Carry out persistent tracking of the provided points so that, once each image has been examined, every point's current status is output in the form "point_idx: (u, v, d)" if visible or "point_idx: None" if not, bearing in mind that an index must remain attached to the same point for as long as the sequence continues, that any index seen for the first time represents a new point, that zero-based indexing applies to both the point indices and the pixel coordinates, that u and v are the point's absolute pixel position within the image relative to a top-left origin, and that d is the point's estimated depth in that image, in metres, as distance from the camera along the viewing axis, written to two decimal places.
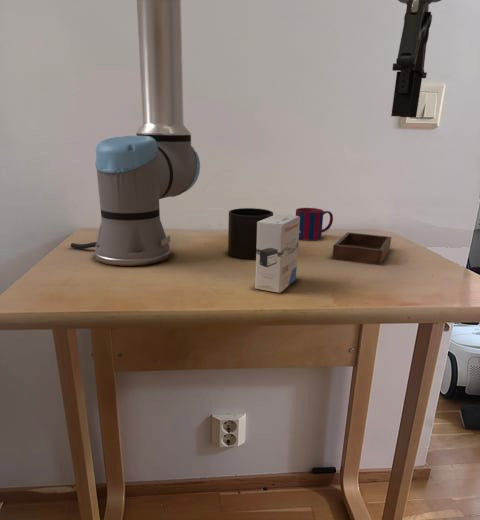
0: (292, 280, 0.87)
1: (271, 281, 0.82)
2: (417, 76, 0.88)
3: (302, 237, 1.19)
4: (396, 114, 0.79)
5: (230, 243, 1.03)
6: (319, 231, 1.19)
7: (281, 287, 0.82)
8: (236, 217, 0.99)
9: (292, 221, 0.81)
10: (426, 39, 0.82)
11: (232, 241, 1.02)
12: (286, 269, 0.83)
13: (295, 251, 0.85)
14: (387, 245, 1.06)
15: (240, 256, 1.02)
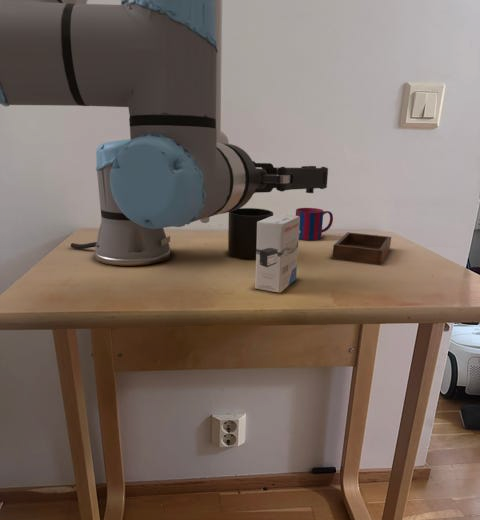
0: (292, 280, 0.87)
1: (271, 281, 0.82)
2: None
3: (302, 237, 1.19)
4: None
5: (230, 243, 1.03)
6: (319, 231, 1.19)
7: (281, 287, 0.82)
8: (236, 217, 0.99)
9: (292, 221, 0.81)
10: None
11: (232, 241, 1.02)
12: (286, 269, 0.83)
13: (295, 251, 0.85)
14: (387, 245, 1.06)
15: (240, 256, 1.02)
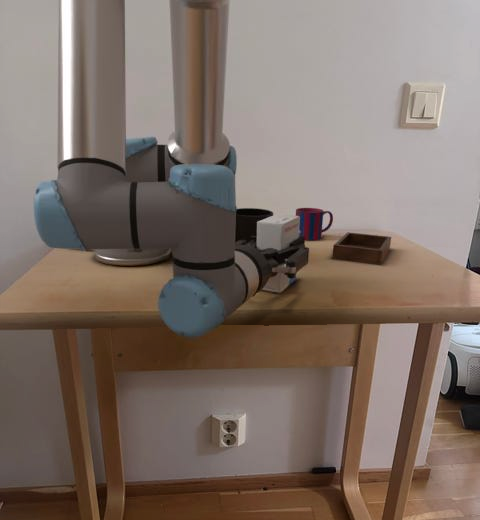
0: (292, 280, 0.87)
1: (271, 281, 0.82)
2: None
3: None
4: None
5: None
6: (319, 231, 1.19)
7: (281, 287, 0.82)
8: (236, 217, 0.99)
9: (292, 221, 0.81)
10: None
11: None
12: None
13: None
14: (387, 245, 1.06)
15: None
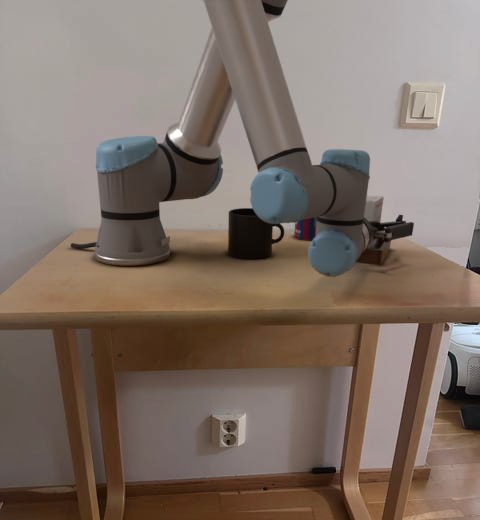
0: None
1: None
2: None
3: (302, 237, 1.19)
4: None
5: (230, 243, 1.03)
6: None
7: None
8: (236, 217, 0.99)
9: (380, 200, 1.02)
10: None
11: (232, 241, 1.02)
12: None
13: None
14: (387, 245, 1.06)
15: (240, 256, 1.02)
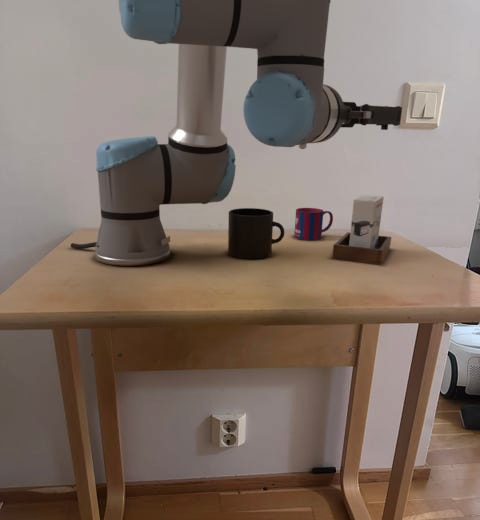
0: None
1: None
2: None
3: (302, 237, 1.19)
4: None
5: (230, 243, 1.03)
6: (319, 231, 1.19)
7: None
8: (236, 217, 0.99)
9: (380, 200, 1.02)
10: None
11: (232, 241, 1.02)
12: (374, 238, 1.03)
13: (379, 224, 1.06)
14: (387, 245, 1.06)
15: (240, 256, 1.02)
